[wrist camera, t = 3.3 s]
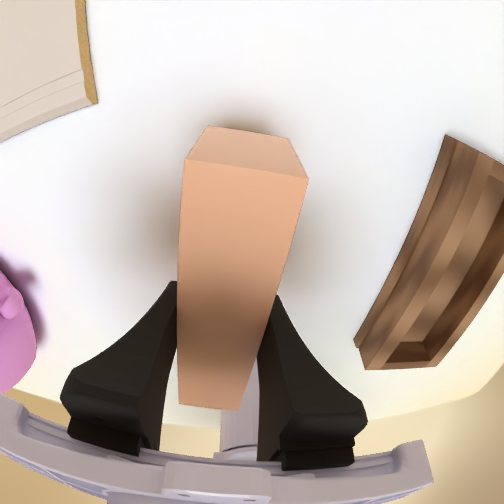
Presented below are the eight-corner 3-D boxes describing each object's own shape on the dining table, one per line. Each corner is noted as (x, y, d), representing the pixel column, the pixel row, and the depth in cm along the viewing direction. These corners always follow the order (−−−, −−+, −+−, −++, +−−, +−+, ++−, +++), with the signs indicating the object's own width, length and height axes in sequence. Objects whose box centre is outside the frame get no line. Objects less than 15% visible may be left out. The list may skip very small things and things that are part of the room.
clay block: (239, 346, 20) (238, 410, 16) (188, 340, 20) (178, 403, 16) (288, 138, 12) (308, 178, 8) (207, 125, 12) (184, 159, 8)
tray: (426, 340, 27) (437, 366, 24) (353, 339, 26) (362, 370, 23) (516, 173, 16) (544, 191, 14) (445, 134, 16) (477, 150, 13)
